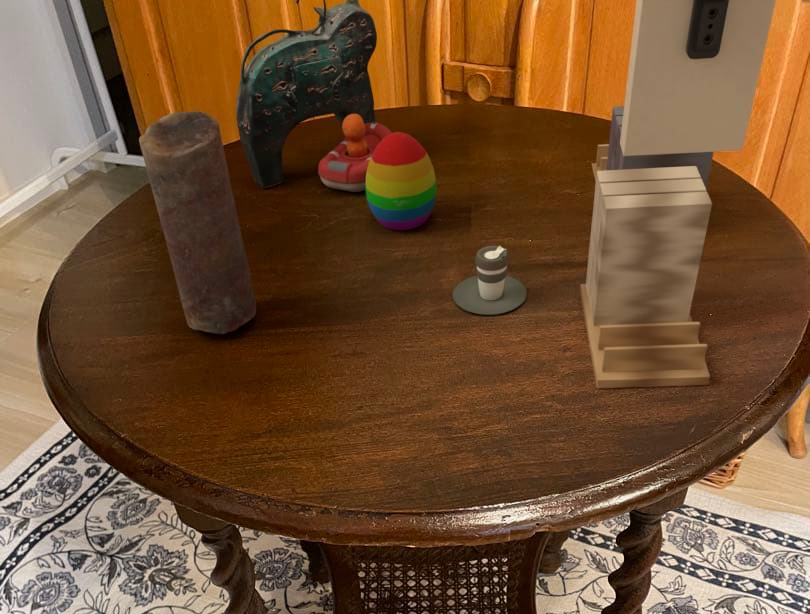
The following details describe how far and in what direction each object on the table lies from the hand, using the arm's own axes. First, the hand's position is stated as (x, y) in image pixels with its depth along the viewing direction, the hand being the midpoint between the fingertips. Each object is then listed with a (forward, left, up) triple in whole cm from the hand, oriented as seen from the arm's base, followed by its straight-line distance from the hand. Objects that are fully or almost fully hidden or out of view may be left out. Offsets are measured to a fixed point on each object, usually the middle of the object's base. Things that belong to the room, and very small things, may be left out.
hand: (697, 48), depth 62 cm
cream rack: (0, -3, -27) cm, 27 cm away
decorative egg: (+24, -28, -27) cm, 46 cm away
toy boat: (+30, -40, -27) cm, 57 cm away
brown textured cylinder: (+42, -8, -27) cm, 51 cm away
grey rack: (-4, -29, -27) cm, 40 cm away
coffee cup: (+14, -11, -27) cm, 32 cm away
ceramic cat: (+36, -44, -27) cm, 63 cm away
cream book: (0, 0, -7) cm, 7 cm away
